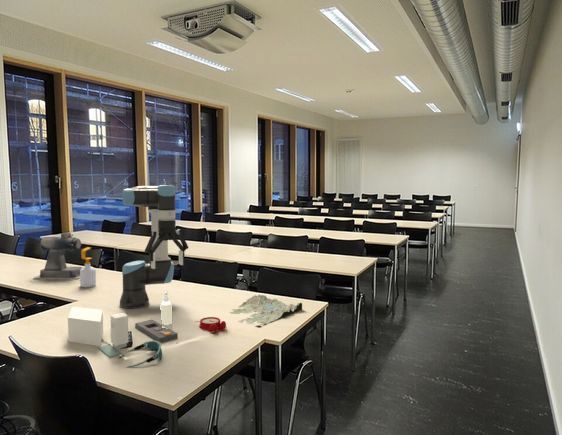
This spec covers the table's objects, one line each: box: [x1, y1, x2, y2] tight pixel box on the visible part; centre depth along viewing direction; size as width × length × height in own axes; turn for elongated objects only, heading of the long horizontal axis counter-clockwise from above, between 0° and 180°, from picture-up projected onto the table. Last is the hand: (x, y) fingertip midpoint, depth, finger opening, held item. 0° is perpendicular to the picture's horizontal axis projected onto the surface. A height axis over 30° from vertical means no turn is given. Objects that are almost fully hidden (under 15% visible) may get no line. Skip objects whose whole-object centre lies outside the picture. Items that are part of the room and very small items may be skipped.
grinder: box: [32, 232, 83, 281], centre depth 291 cm, size 18×31×31 cm, turn 91°
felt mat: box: [97, 343, 123, 358], centre depth 167 cm, size 12×12×1 cm
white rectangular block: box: [67, 306, 104, 347], centre depth 179 cm, size 14×29×10 cm, turn 47°
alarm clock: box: [195, 316, 227, 334], centre depth 190 cm, size 10×6×15 cm
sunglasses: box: [118, 340, 163, 368], centre depth 158 cm, size 14×15×5 cm
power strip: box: [134, 319, 179, 344], centre depth 185 cm, size 30×8×4 cm, turn 43°
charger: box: [110, 312, 129, 350], centre depth 166 cm, size 5×5×13 cm
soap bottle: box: [79, 246, 97, 288], centre depth 266 cm, size 9×9×25 cm
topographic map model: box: [228, 294, 303, 328], centre depth 216 cm, size 36×29×5 cm
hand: (167, 266), depth 189 cm, fingers open, 13 cm apart
